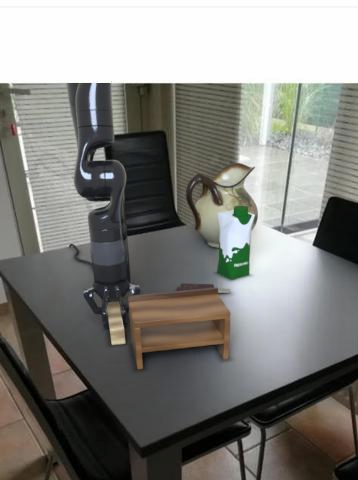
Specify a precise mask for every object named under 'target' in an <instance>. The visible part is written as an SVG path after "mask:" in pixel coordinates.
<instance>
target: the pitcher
mask: <svg viewBox="0 0 358 480" xmlns="http://www.w3.org/2000/svg"><path fill="white" fill-rule="evenodd" d="M255 169H256V167H255V166H253V167H251V166H249V165H246V164H245V163H240V162H234V163H230V164H227V165H226V166H224V167H223V168H222V169H221V170H219V172H218V173H216V175H215V176H214V177H213V178H211V177H209V176H208V175H205V174H203V173H201V172H197V173H196V174H194V175H193V176H192V177H191V178H190V179H189V181H188V183H187V185H186V187H185V198H186V202H187V205H188V207H189V209H190V210H191V213H192V222H193V224H194V231H197V232H198V233H199V234H200V236H201V237H202V238H203V239H204V240H206V244H207V245H208V246H210V247H212V248H217V249H219V237H220V227H219V221H218V214H217V213H221V212H226V211H231V210H234V207H236V206H246V207H248V212H249V213H252V214H255V217H254V221H253V224H252V229H251V233H252V232H253V230H254V229H255V227H256V225H257V222H258V219H259V210H258V206H257V204H256V202H255V200H254V199H253V197H252V196H251V195H250V194H249V192H248V191H247V190H246V188H245V185H244V184H245V181H246V178H248V176H249V175H250V174H251V173H252V172H253V171H254V170H255ZM199 184H202V189H201V192H200V193H199V195H198V200H197V201H196V202H195V203H194V199H193V191H194V189H195V187H196V186H197V185H199Z"/></svg>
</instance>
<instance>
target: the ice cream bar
mask: <svg viewBox="0 0 358 480" xmlns="http://www.w3.org/2000/svg"><path fill="white" fill-rule="evenodd" d="M206 288H215V285H214V284H213V283H181V284H180V286H177V287H176V291H184V290H195V289H206ZM219 293H220V294H230V293H232V290H231V289H230V288H218V294H219Z"/></svg>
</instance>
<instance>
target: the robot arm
mask: <svg viewBox="0 0 358 480" xmlns="http://www.w3.org/2000/svg"><path fill="white" fill-rule="evenodd" d="M66 91H67V97H68V98H67V99H68V104H69V110H70V111H69V112H70V116H71V119H72V125H73V131H74V135H75V141H76V148H77V154H76V155H77V156H76V162H75V167H74V172H73V186H74V188H75V191H76V192H77V194H78V195H79V196H80V197H82V198H83V199H85V200H86V201H87V202H90V203H91V202H92V203H98V202H108V204H106V205H104V206H101V207H97V208H94V209H92V210H90V211H89V212H88V214H87V225H88V233H89V240H90V243H89V244H90V245H89V246H90V248H89V249H90V260H91V261H88V260H85V259H81V258H79V257H78V255H79V253H80V252H79V251H80V250H79V248H78V247H77V246H76V245H75V244H73V243H70V244H69V245H68V248H72V247H73V248H74V250H75V253H74V257H73V258H74V259H75V260H76V261H78V262H80V263H84V264H88V265H90V266H91V267H92V273H93V281H94V282H93V284H92V287H90V288H84V289H83V291H82V294H83V298H84V299H85V301H86V303H87V304H88V306H89V307H90V309H91V311H92V313H93V314H94V315H95V316H96V315H100V316H101V318H102V325H103V328H104V329H105V328H106V330H107V331H108V330H109V321H108V312H107V308H108V303H111V302H119V306H120V311H121V316H122V321H123V325H124V329H126V326H128V324H129V322H128V321H129V320H128V313H129V303H128V302H127V304H126V302H125V300H124V297H125V296H126V294H127V292H128V291H129V293H130V295H141V291H142V290H141V286H140V285H139V284H138V283H136V284H132V277H131V264H130V254H129V253H130V252H129V240H128V228H127V227H128V226H127V217H126V205H125V203H126V202H125V189H126V185H127V172H126V169H125V167H124V165H123V164H122V163H121V162H120V161H119V160H116V159H106V160H105V159H104V160H103V159H101V160H94V158H95V154H96V152H97V150H99V149H103V148H106V147H110V146H112V145H113V144H114V142H115V128H114V127H115V126H114V112H113V109H114V108H113V97H112V95H113V94H112V82H111V83H66ZM95 294H96V295H97V296H98V297H99V298H100V299H101V306H98V305H97V302H96V301H95V299H94V297H95Z"/></svg>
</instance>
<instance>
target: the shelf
mask: <svg viewBox="0 0 358 480" xmlns="http://www.w3.org/2000/svg"><path fill="white" fill-rule="evenodd" d="M218 289H219V287H216V286H215V287H214V288H206V289H195V290H184V291H177V290H174V291H164V292H153V293H145V294H144V293H142V294H141V293H140V294H139V295H132V294H130V295H127V301H128V302H127V304H128V303H129V312H128V313H129V314H128V315H129V325H130V326H129V327H130V337H131V346H132V351H133V356H134V359H135V364H136V365H135V366H136V369H137V370H144V363H143V361H144V359H143V353H150V352H152V353H153V352H160V351H169V350H178V349H179V350H180V349H187V348H195V347H204V346H213V345H215V347H216V349H217V350H218V352H219V354H220V356H221V358H222V360H229V358H230V357H229V355H230V339H231V337H230V336H231V334H230V333H231V311H230V310H229V309H228V307H227V305H226V304H225V302H224V301H223V300H222V298H221V296H220V295H219V293H218Z"/></svg>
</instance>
